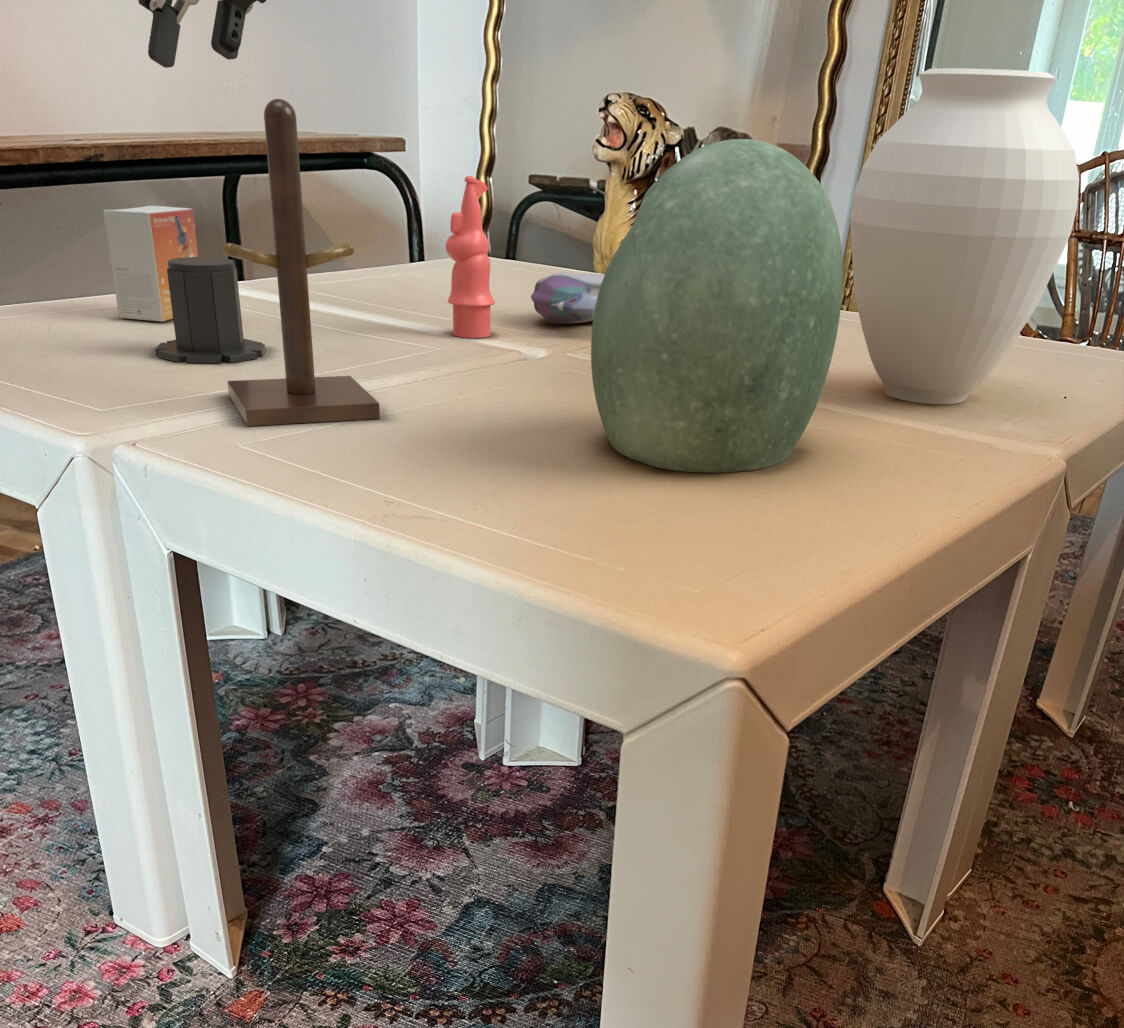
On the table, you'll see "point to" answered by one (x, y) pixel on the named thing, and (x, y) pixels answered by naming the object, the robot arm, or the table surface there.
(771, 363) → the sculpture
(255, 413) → the coat stand
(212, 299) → the hat
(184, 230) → the small box
